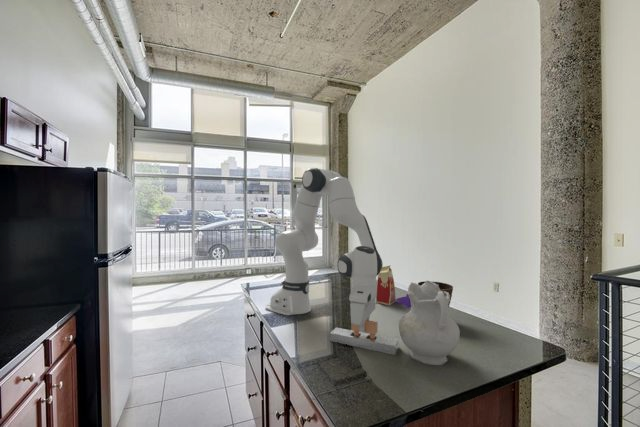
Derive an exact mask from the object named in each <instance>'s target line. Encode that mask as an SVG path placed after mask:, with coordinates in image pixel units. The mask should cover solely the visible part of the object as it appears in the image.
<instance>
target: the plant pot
mask: <svg viewBox="0 0 640 427" xmlns="http://www.w3.org/2000/svg"><path fill="white" fill-rule="evenodd" d="M427 281H428V280H425V282H427ZM425 282H424V281H418V282H417V285H418V286H421V285H423V284H424V283H425ZM432 282H433V283H435V284H437V285H438V284H439V285H438V286H439V288H440V290H441V291H446V292H447V293H449V295H450V301H449V304H448V308H449V307H450V305H451V301H452V300H451V299H452V296H453V291H454V286H453V285H451V284H449V283H445V282H440V281H432Z"/></svg>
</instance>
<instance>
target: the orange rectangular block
mask: <svg viewBox="0 0 640 427" xmlns="http://www.w3.org/2000/svg"><path fill="white" fill-rule="evenodd" d="M350 322H351V321H350ZM350 325H351V327H350V328H351V329H350V330H352V331H354V336H355V337H359V332H360V331H359V326H358V325H353V324H352V322H351V324H350ZM378 326H379V325H378V321H374V320H370V319H369V320H366V321H365V331H364V332H363V333H368V334H370V340H375V335H377V333H378V328H379V327H378Z"/></svg>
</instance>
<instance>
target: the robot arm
mask: <svg viewBox="0 0 640 427" xmlns="http://www.w3.org/2000/svg"><path fill="white" fill-rule="evenodd" d="M301 182H302V184H301V187H300V189H299V191H298V194H297V197H296V201H295V205H294V207H293V208H294V209H293V214H292V217H293V220H295V224H296V225H295V229H291V230H286V231H282V232H279V233H278V234H277V235H276V237H275V239H274V240H275V241H274V244H275V248H276V250H277V251H278V252H279V253H280V254H281V255H282V257H283V261H284V264H285V266H284V267H285V280H283V281H281V282H280V285H282V286H281V288H280V289H279V290H277V291H276V292H274V293H273V294H272V295H271V298H270V302H269V303H268V304H266V305H265V308H264V309H265V310H267V311H270V312H272V313H273V312H274V313H277V314H280V315H284V316H292V315H304V314H308V313H309V312H311V311H312V307H311V303H310V297H309V296H310V295H309V292H310V280H309V264H308V263H307V261H305V259H304V254H303V252H309V251H311V250H312V249H315V248H316V247H317V246H318V244H319V235H318V234H317V233H316V219H317V214H318V212H319V207H320V205H321V204H320V203H321V200H322V198H323V196H324V195H327V199H328V200H327V201H328V208H329V213H330V216H331V218H332V219H333V220H334V221H335V222H337V223H338V224H340V225H342V226H345V227H348V228H349V229H351V230H353V231H354V232H355V233H356V235H357V237H358V239H359V243H360V246H356V247H355V248H354V249H353V250H352V251H349V252H346V253H342V254H341V255H340V256H339V257H338V261H337V271H338V273H339V274H340V276H342V277H343V278H346V279H347V278H348V279H352V287H351V292H350V293H349V295H348V296H349V299H348V300H349V302H350V309H349V310H350V322H352V324H353V325H358V326H359V331H360V332H363V333H364V331H365V321H366V320H369V321H370V318H371V315H372V314H373V312H374V311H375V310H376V304H377V303H376V297H377V281H378V280H377V277H378V274H379V273H380V271H381V269H382V267H384V265H383V260H382V257H381V255H380V254H379V252H378V250H377V247H376V243H375V240H374V238H373V235H372V231H371V228H370V225H369V223H368V220H367V218H366V216H365V215H363V214H362V213H361V211H360V210H359V207H358V205H357V202H356V199H355V198H356V197H355V194H354V193H355V192H354V190H353V186H352V184H351V182H350V180H349V178H347V177H346V176H345V175H343V174H342V173H341V172H336V171H333V170H330V169H321V168H317V167H310V168H307V169H306V170H305V171H304V173H303V174H302V179H301Z"/></svg>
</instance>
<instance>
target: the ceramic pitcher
mask: <svg viewBox="0 0 640 427" xmlns="http://www.w3.org/2000/svg"><path fill="white" fill-rule="evenodd" d="M425 281H427V282H425ZM425 281H424V282H425V283H424V284H423V285H421V286H418V283H416V282H410V284H409V285H408V288H407V294H408V296H409V298H410V301H411V308H410V310H409V311H408V312H407V313H405V314H404V315H403V316H401V318H400V319H399V321H398V332H399V335H400V338H401V340H402V342H403V344H404V346H405V347H407V349H408V350H410V352H409V353H410V354H409V355H410V357H411V359H414V360H415V361H417V362H420V363H422V364H425V365H429V366H443V365H444V364H446V362H448V360H449V359H448V358H447V356H450V355H451V354H452V353H453V352H454V351H455V350H456V348H457V347H458V345H459V343H460V337H461V336H460V335H461V331H460V328H459V326H458V324H457V323H456V322H455V321H454V319H452V318H451V317H450V316H449V312H450V311H449V308H448V304H449V301H450V295H449V293H447V292H446V291H441V290H440V288H439V286H438V285H439V284H438V285H437V284H435V283H433V282H434V281H433V282H432V281H430V280H425ZM450 302H451V301H450Z"/></svg>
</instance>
